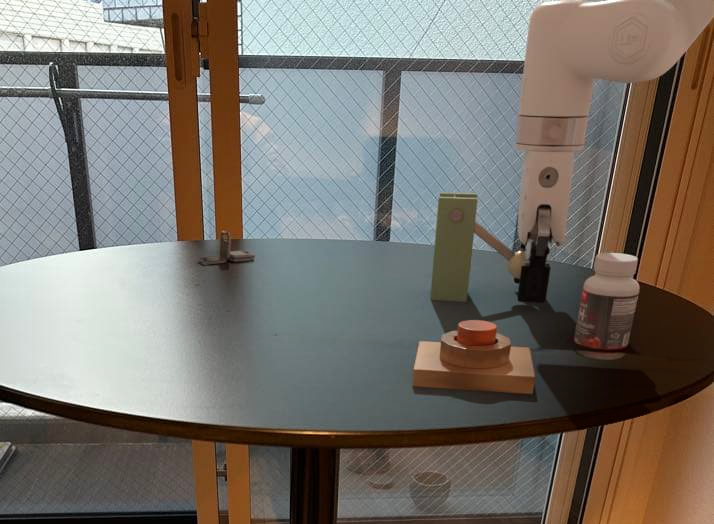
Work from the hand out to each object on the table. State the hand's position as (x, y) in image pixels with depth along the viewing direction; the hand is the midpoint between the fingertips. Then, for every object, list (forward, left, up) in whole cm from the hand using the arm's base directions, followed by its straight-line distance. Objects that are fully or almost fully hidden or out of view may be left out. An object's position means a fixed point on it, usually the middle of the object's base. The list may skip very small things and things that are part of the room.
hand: (528, 291), depth 98 cm
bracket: (+10, 0, -2) cm, 10 cm away
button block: (+7, +26, -2) cm, 27 cm away
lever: (+6, 0, +5) cm, 8 cm away
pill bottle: (-6, +16, -2) cm, 18 cm away
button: (+7, +26, +1) cm, 27 cm away
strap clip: (+44, -20, -2) cm, 48 cm away
